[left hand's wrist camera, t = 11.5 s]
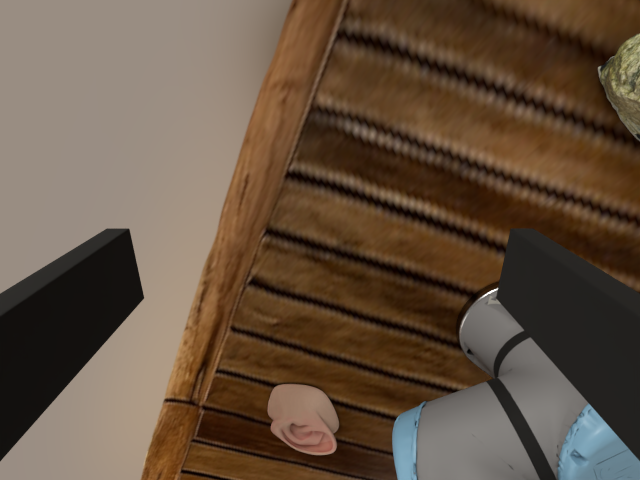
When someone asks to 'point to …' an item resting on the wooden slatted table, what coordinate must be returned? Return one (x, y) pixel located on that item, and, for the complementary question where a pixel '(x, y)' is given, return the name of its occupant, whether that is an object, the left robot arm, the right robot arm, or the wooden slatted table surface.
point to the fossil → (624, 83)
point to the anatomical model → (303, 418)
